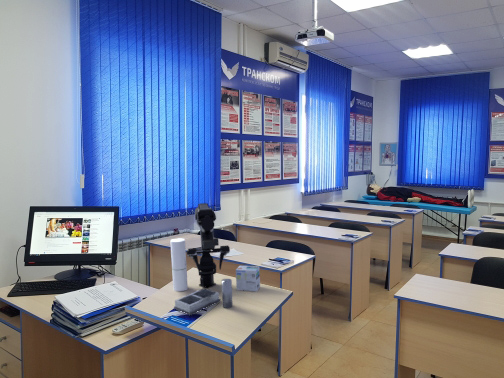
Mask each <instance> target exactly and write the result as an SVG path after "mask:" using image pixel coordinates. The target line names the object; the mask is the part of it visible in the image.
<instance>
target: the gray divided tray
mask: <svg viewBox="0 0 504 378" xmlns="http://www.w3.org/2000/svg"><path fill="white" fill-rule="evenodd" d="M221 299H222V298H220V293H219V292H217V291H214V290H211V289H208V288H205V287H202V288H201V289H198V290H197V291H193V292H192V293H189V294H187V295H184V296H182V297H180V298H177V299H175V300H174V307H173V309H174V310H175V309H176V310H175V311H178V312H180V311H182V312H185V313H187V314H189V315H188V316H190V315H191V316H193V315H195V314H197V313H198V312H197V311H199V312H201V311H203V310H204V309H203V308H206V307H208V306H210V305H212V304H214V303H216V304H218V303H220V302H221ZM214 305H215V304H214ZM212 306H213V305H212ZM210 307H211V306H210ZM208 308H209V307H208ZM202 309H203V310H202ZM206 309H207V308H206ZM200 310H201V311H200ZM182 312H181V313H182ZM196 312H197V313H196ZM185 313H184V314H185ZM194 313H195V314H194ZM187 314H186V315H187ZM192 314H193V315H192Z"/></svg>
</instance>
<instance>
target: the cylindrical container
mask: <svg viewBox="0 0 504 378" xmlns="http://www.w3.org/2000/svg"><path fill="white" fill-rule="evenodd" d="M169 243H170V256H171V270H172V271H171V272H172V273H171V274H172V287H173V288H172V290H173V291H174V292H183V291H186V290H188V288H189V286H188V285H189V284H188V270H187V268H188V265H187V253H186V252H187V250H186V239H185V238H183V237H182V238H181V237H179V238H172V239H170V241H169Z"/></svg>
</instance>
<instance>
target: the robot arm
mask: <svg viewBox="0 0 504 378" xmlns="http://www.w3.org/2000/svg"><path fill="white" fill-rule="evenodd" d="M194 218H195V219H194V220H195V221H196V224H197V226H198V227H199V231H200V232H199V233H200V245H201V247H200V248H201V249H197V248H196V247H191V248H187V250H186V252H187V253H186V258H187V257H188V258H190V259H192V260H193V262H194V263H195V266H196V268H197V271H198V276H199V284H198V286H199V287H202V288H206V289H208V288H211V287H213V286H216V285H217V282H215V280H214V279H215V278H214V275H216V273H217V264H216V262H214V261H215V260H214V258H213V256H212V255H211V254H213V253H214V254H216V253H219V259H218V260H219V262H218V263H219V264H218V267H219V270H220V271H221V269H222V265H223V261H224V257H225V256H227V255H228V254H229V253H230V252H231V250H230V248H231V247H230V246H229V245H220V247H218V248H216V246H219V244H220V243H219V237H215V236H214V228H215V222H216V220H217V216H216V212H215V211H214V210H213V208H210V207H209V203H207V202H205V203H198V205H197V206H196V208H195V210H194ZM198 255H201V256H200V258H199V259H198Z"/></svg>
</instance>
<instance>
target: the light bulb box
mask: <svg viewBox="0 0 504 378" xmlns="http://www.w3.org/2000/svg"><path fill="white" fill-rule="evenodd" d="M260 272H261V271H260V266H259V265H258V266H256V265H255V266H254V265H241V264H240V265H239V266H238V267H237V268H236V269H235V280H236V281H235V283H236V285H235V286H236V291H243V290H244V292H258V291H259V289H260V288H261V276H260V275H261V274H260Z"/></svg>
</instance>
